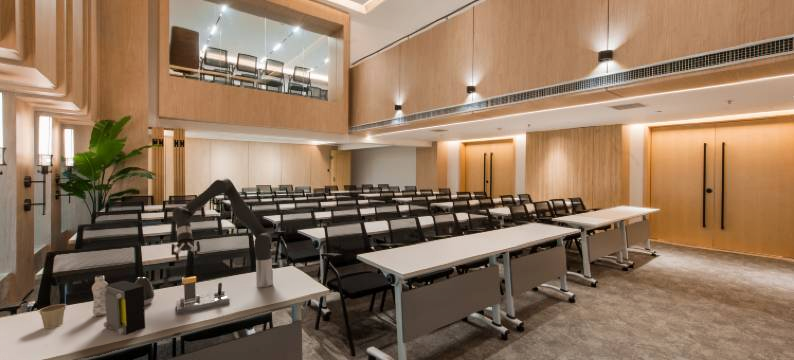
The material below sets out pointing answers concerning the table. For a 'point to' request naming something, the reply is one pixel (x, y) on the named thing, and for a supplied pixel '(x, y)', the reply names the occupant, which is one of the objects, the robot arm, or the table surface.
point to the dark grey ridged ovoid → (146, 289)
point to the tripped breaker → (189, 289)
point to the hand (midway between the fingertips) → (186, 258)
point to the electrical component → (124, 307)
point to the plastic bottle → (99, 296)
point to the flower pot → (52, 315)
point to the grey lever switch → (203, 302)
